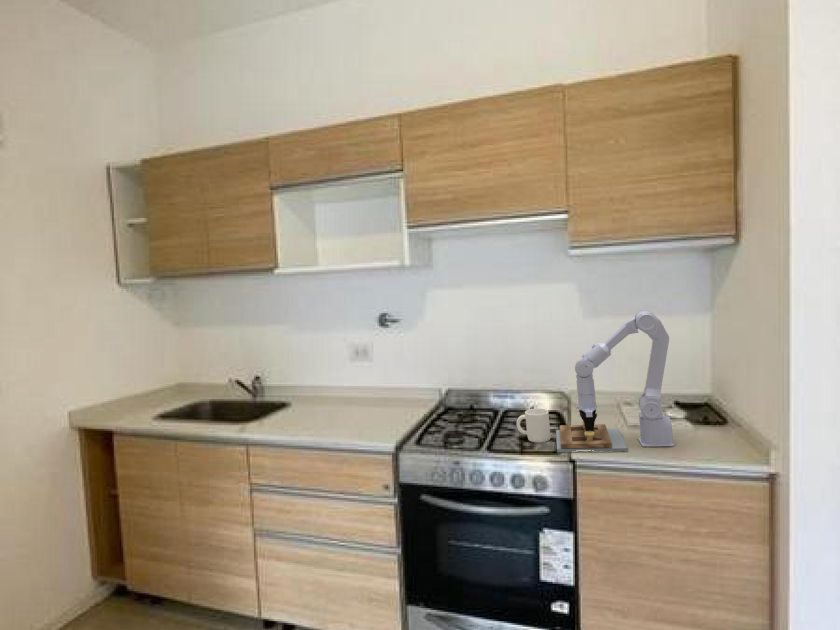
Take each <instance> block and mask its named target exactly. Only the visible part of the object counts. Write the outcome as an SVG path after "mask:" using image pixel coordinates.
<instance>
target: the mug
mask: <svg viewBox="0 0 840 630" xmlns="http://www.w3.org/2000/svg"><path fill="white" fill-rule="evenodd" d="M523 420H525V426H526V427H525V428H526V430H524V429H523V428H522V427H521V421H523ZM550 425H551V424H550V414H549V410H548V409H545V408H531V409H527V410H525V411H524V414H522V415H520V416H518V418H517V420H516V428H517V429H518V432H520V433H521V434H523V435H527V439H528V441H530V443H538V444H539V443H546V442H548V441H550V440H551V427H550Z"/></svg>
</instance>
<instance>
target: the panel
mask: <svg viewBox="0 0 840 630" xmlns="http://www.w3.org/2000/svg"><path fill="white" fill-rule="evenodd" d="M607 429H608V428H607V425H606V424H601V423H600V424H594V433H595V436H593V440H587V436H585V434H584V432H585V431H586V429H585V426H583V425H582V424H572V425H571V424H570V425H569V424H566V425H564V424H563V425H562V424H561V425H559V430H560V440H561V448H612V442H611V439H610V437H609V434H608V431H607Z"/></svg>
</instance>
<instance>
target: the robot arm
mask: <svg viewBox="0 0 840 630" xmlns="http://www.w3.org/2000/svg"><path fill="white" fill-rule="evenodd" d="M639 331H641V332H643V333H644V334H646V335H647V336H648V337H649V338H650V340H651V341H652V343H651V348H650V355H649V361H648V367H647V373H646V380H645V386H644V388H643V393H642V395H641V396H640V397H639V400H638V404H639V408H640V413H639V415H638V418H639V429H640V437H637V439H638V441H639V443H640V445H641V446H642V447H644V448H645V447H653V448H654V447H674V445H675V444H674V435H673V424H672V420H671V418H670V416H667V415H664V414H663V408H662V404H661V399H662V396H661V395H662V393H661V392H662V386H663V379H664V373H665V368H666V362H667V361H666V360H667V355H668V350H669V343H670V335H669V334H668V332H667V330H666V328H665V327H664V325H663V323H662V321H661V319H660V318H658V317H657V315H655V314H654V313H653V312H652V311H649V310H646V309H644V310H640V311H638V312H637V313H636V314H635V315H632V316H631V317H630V318H629V319H628V320H626V321H625V322H623V323H622V324H621V326H619V327H618V329H616V330H615V332H613V333H612V335H610V337H608V338H607V339H606V340H605V341H604V342H597V343H596V344H595V343H594V344H592V345H591V349H590V350H589V351H587V352H586V353H585V354H582V355H581V358H579V359H578V360H576V362H575V365H574V371H575V373H576V376H575V377H576V391H577V402H578V405H577V404H576V405H575V406H574V408H575V409H577V410H578V409H579V410H578V412H579V416H580V419H581V420H582V422H584V425H585V429H586V431H594V425H595V424H596V419H597V417H598V413H596V412H597V408H598V407H597V403H596V402H597V400H596V392H595V391H596V389H595V380H594V375H593V373H594V369H596V368H598V367H599V366H600V365H601V364H603V363H604V362H605V361H606V360H607V359H608V358H609V357H610V356H611V355H612V351H611V350H612V349H613V348H615V347H616V346H617V345H618V344H620V342H622V341H623V340H624V339H625V338H627V337H628V336H629V335H634V334H638V333H639Z"/></svg>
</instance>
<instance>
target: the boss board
mask: <svg viewBox="0 0 840 630" xmlns="http://www.w3.org/2000/svg"><path fill="white" fill-rule="evenodd" d="M581 425H583V426H585V425H584V422H583V421H582V424H581ZM607 431H608V434H609V437H610V439H611V442H612V448H561V440H560V429H555V433H556V434H555V435H556V453H573V452H572V451H576V450H591V451H592V450H594V451H628V450H629V448H628V446H627V444H626V442H625V439H624V437H623V434H622V432H621V430H620V428H607ZM584 434H585V436H587V440H593V436H595V433H594V431H585V432H584ZM628 452H629V451H628Z"/></svg>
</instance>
